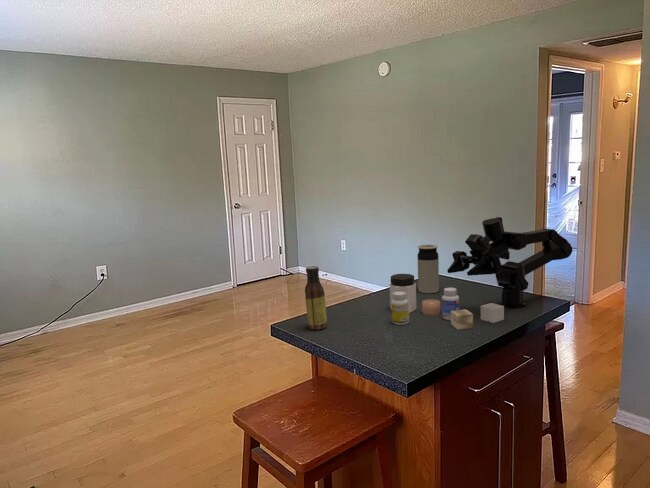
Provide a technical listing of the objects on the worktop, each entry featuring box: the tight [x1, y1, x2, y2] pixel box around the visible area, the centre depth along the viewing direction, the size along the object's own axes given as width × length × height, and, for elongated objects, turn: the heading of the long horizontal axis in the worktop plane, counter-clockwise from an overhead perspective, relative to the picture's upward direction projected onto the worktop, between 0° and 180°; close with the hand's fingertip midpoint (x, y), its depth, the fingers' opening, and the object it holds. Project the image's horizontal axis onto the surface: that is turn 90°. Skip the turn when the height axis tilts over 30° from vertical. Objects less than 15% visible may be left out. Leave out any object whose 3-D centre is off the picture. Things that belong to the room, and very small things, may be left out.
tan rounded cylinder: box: [421, 298, 441, 317], centre depth 168 cm, size 6×6×4 cm
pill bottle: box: [441, 287, 460, 321], centre depth 161 cm, size 5×5×10 cm
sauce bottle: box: [304, 265, 328, 331], centre depth 158 cm, size 6×6×20 cm
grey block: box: [480, 302, 505, 324], centre depth 158 cm, size 5×5×4 cm
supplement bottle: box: [391, 292, 410, 326], centre depth 159 cm, size 5×5×10 cm
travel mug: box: [417, 244, 440, 295], centre depth 193 cm, size 8×8×18 cm
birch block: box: [450, 309, 474, 330], centre depth 153 cm, size 5×5×4 cm
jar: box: [389, 273, 417, 314], centre depth 172 cm, size 9×8×12 cm
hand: (457, 272), depth 158 cm, fingers open, 9 cm apart
